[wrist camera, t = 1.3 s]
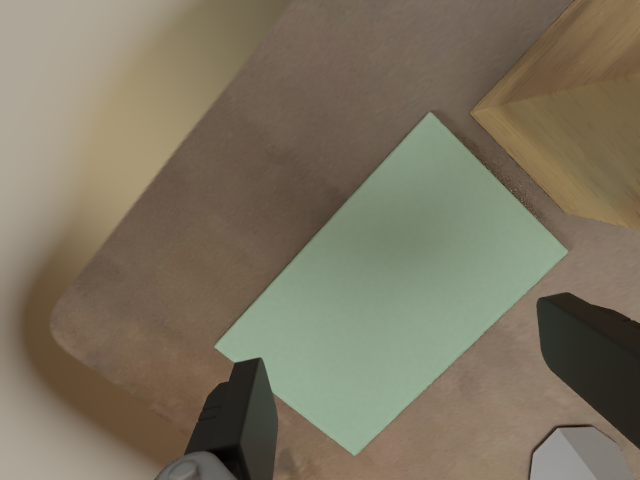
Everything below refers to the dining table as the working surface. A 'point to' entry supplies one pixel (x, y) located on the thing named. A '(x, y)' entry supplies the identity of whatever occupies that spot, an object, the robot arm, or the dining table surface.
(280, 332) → the mat
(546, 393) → the dining table surface
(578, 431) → the flask
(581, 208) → the stand
